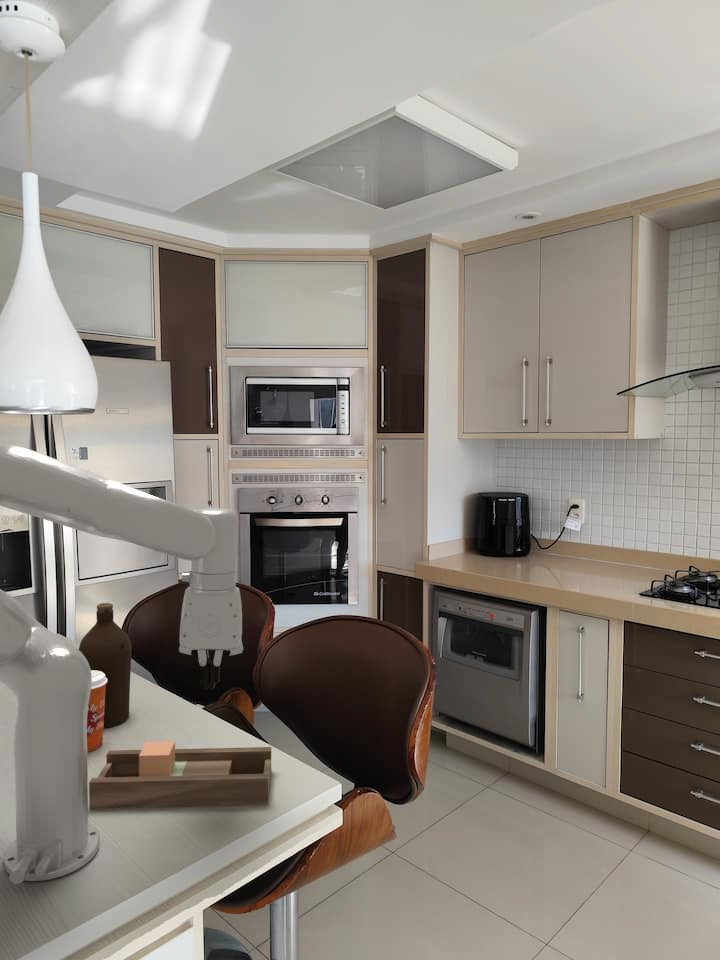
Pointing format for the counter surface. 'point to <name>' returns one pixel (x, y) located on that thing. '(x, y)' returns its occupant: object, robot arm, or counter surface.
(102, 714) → the paper cup
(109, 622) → the olive oil
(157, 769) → the block
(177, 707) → the counter surface
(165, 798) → the box
